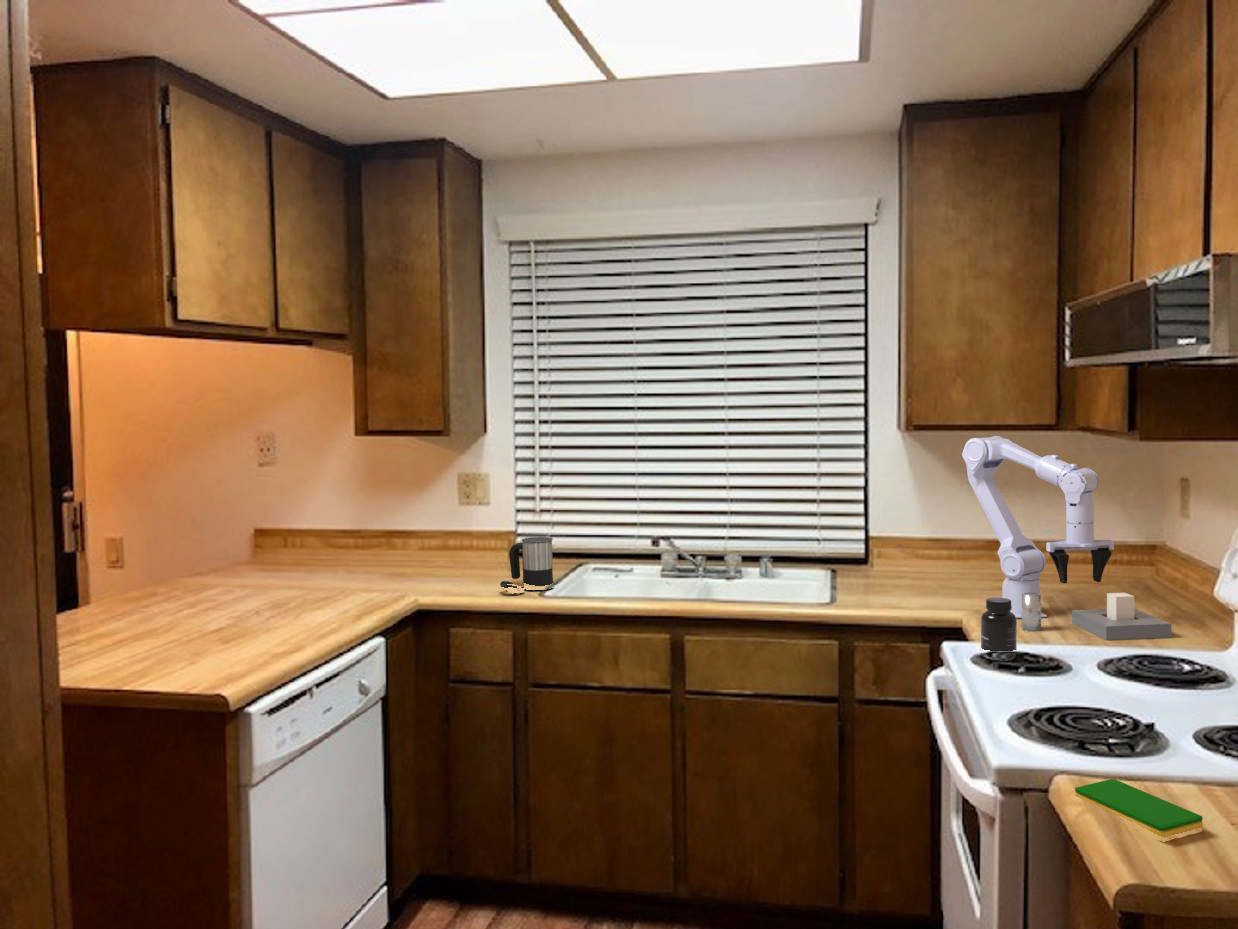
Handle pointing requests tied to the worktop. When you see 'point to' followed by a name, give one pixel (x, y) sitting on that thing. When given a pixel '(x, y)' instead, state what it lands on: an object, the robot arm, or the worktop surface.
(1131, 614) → the square peg
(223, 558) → the worktop surface
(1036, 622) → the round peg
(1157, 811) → the dish sponge
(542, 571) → the milk frother
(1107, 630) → the socket plate
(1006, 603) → the supplement bottle
